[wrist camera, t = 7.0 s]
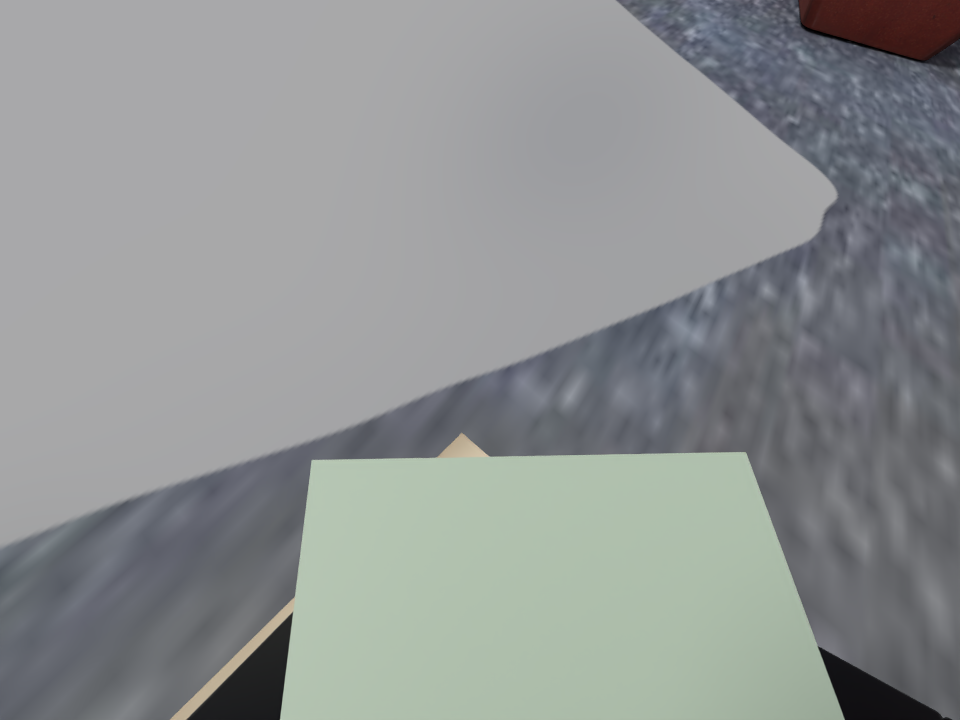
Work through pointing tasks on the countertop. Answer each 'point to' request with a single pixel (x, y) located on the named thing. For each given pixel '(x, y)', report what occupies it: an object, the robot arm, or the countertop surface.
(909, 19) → the plant pot
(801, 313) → the countertop surface
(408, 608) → the tall block
